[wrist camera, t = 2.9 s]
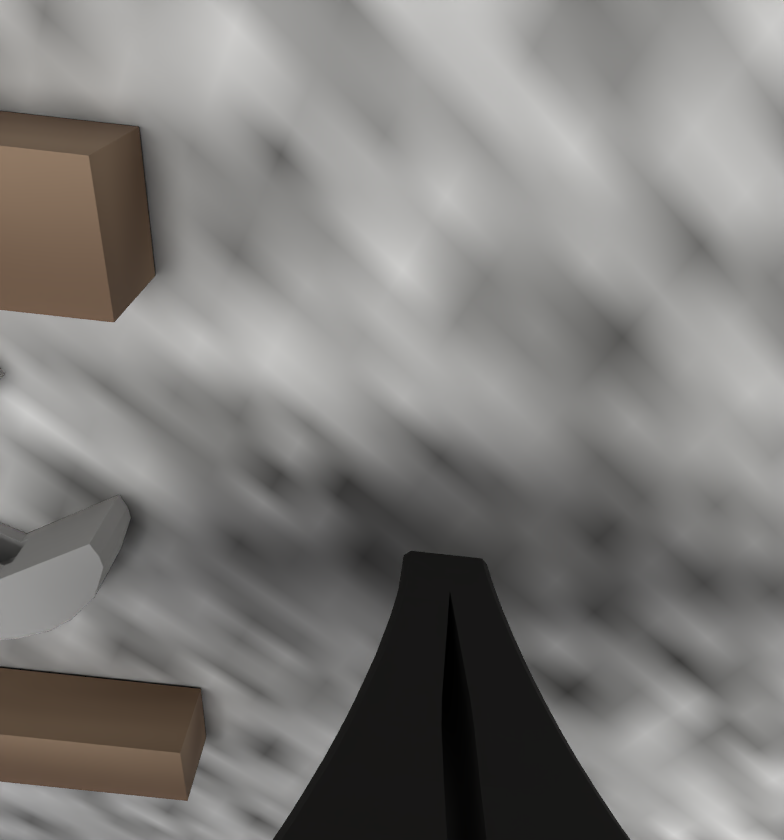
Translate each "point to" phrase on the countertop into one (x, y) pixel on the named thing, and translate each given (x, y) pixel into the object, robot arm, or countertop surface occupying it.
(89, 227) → the guide channel
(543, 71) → the countertop surface
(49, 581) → the adjustable wrench
